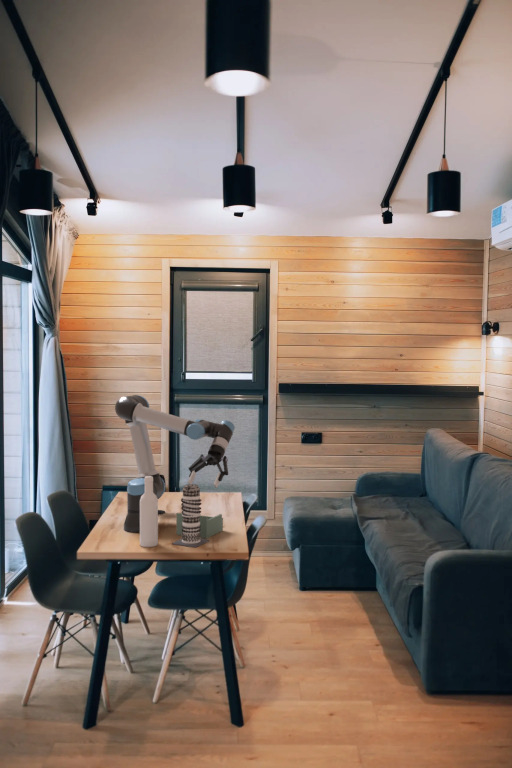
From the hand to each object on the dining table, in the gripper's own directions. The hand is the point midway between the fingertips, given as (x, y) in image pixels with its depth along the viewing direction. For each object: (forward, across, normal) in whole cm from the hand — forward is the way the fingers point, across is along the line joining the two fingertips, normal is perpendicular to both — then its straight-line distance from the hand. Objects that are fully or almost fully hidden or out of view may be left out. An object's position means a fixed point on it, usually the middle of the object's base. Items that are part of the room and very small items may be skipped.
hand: (202, 485), depth 292 cm
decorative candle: (+24, 0, -10) cm, 26 cm away
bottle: (+32, +15, -2) cm, 35 cm away
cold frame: (+12, +5, -22) cm, 26 cm away
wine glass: (-6, +47, -40) cm, 62 cm away
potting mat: (+24, 0, -10) cm, 26 cm away
